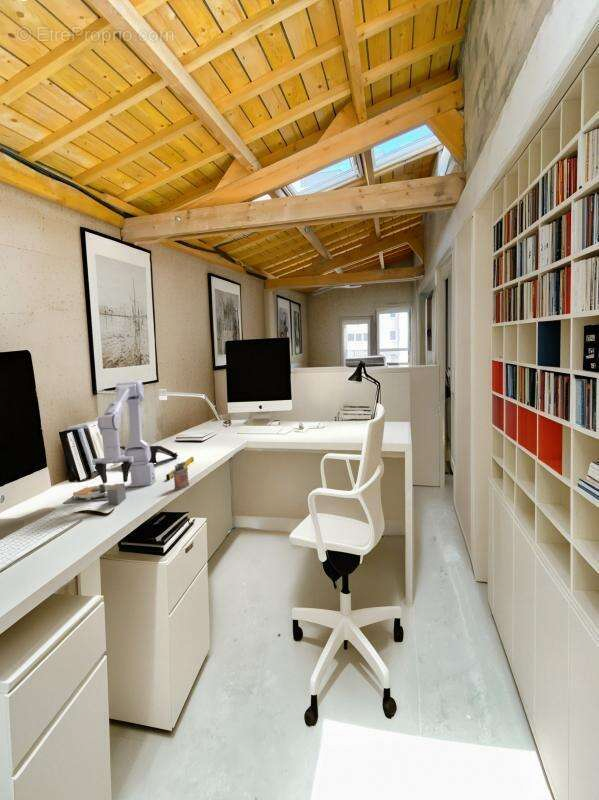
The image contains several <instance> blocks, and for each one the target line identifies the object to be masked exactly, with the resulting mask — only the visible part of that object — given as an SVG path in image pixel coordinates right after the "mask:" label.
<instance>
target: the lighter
mask: <svg viewBox="0 0 599 800" xmlns="http://www.w3.org/2000/svg"><path fill="white" fill-rule="evenodd" d="M184 465H186V464H185V461H182V462H180V463H176V465H174V469H176V470H175V471H173V470H172V471H173V474H174V478H173V481H174V491H181V490H183V489H185V488H188V487H189V486H190V482H189V472H188V470H189V469H188V467H189V466H188V467H184Z"/></svg>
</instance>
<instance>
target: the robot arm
mask: <svg viewBox="0 0 599 800" xmlns="http://www.w3.org/2000/svg"><path fill="white" fill-rule="evenodd" d="M144 387H145V386H144V384H143V382H142V381H141V380H136V381H135V380H134V381H123V382H121V381H118V382H117V383H116V385H115V394H116V395H115V398H114V400H113V401H111V402H110V403H109V405H108V406H107V408H106V409H105V412H104V413H103V414H102V415H100V416H98V419H97V428H98V430H99V434H100V436H101V439H102V449H103V457H101V458H100V457H99V458H93V459H92V461H91V462H92V466H94V469H95V470H96V471H97V473H98V475H99V476H100V479H101V481H102V484H105V485H106V483H108V479H107V478H108V475H107V465H108V464H120V463H121V464H120V467H121V472H122V479H123V480H122V481H123V483H126V482H128V480H129V478H128V477H129V473H130V481H131V483H130V484H129V485H128V486H127V487H130V488H131V487H142V486H144V487H145V486H152V485H153V483H155V482H156V481H157V479H156V472H155V466H154V465H155V464H153V463H148V462H149V461H150V459H151V451H150V446H151V445H150V444H149V443H148V442H146V441H145V440H144V439H143V424H142V423H143V422H142V401H144V400H145V389H144ZM125 403H127V404H128V413H129V414H128V416H129V417H128V418H129V434H130V435H129V438H130V441H129V442H128V443H127V444H126V445H125V450H124V453H123V455H121V454H122V453H121V448H120V446H121V445H120V444H121V443H120V435H119V429H120V427H121V421H122V420H121V419H122V418H121V417H122V415H123V413H124V411H125V407H124V405H125ZM133 447H143V448H133ZM132 448H133V449H132ZM129 471H130V472H129Z"/></svg>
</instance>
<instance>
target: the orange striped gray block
mask: <svg viewBox="0 0 599 800" xmlns="http://www.w3.org/2000/svg"><path fill="white" fill-rule="evenodd" d="M113 485H114V486H112V487H111V488H110V489H108V490H107V494H108V500H107V501H108V502H107V503H108V506H109V505H113V506H116V507H117V506H119V505H120V504H121V503H123V502H124V501H125V500H126V499H127V494H126V488H125V486H126V484H125V483H115V484H113ZM113 506H112V507H113Z"/></svg>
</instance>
